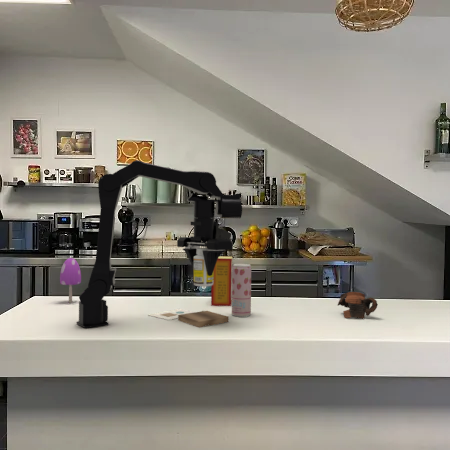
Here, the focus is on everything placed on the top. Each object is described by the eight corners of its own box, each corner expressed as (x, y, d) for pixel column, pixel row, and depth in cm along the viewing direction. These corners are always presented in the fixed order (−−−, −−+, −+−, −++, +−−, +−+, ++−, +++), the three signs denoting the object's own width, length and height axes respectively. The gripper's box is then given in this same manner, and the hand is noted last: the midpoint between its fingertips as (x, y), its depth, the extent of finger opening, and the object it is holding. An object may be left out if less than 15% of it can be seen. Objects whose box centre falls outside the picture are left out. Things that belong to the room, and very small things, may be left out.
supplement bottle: (212, 283, 121) (213, 248, 121) (214, 286, 116) (214, 249, 116) (193, 284, 121) (193, 247, 121) (193, 286, 115) (193, 249, 115)
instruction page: (168, 320, 119) (168, 319, 119) (148, 315, 125) (148, 314, 125) (198, 313, 128) (198, 312, 128) (178, 309, 134) (178, 308, 134)
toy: (76, 304, 140) (77, 258, 140) (56, 304, 140) (56, 258, 140) (83, 301, 146) (84, 257, 146) (64, 300, 146) (64, 257, 146)
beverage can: (229, 315, 125) (229, 264, 125) (235, 312, 131) (235, 263, 131) (247, 317, 123) (248, 265, 123) (253, 313, 129) (253, 264, 129)
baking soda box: (213, 300, 150) (213, 255, 150) (231, 300, 150) (232, 255, 150) (211, 305, 141) (211, 257, 141) (230, 306, 141) (231, 257, 141)
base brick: (199, 327, 111) (199, 321, 111) (178, 320, 119) (178, 314, 119) (228, 322, 118) (228, 316, 118) (206, 315, 125) (207, 310, 125)
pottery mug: (333, 319, 125) (332, 292, 130) (346, 328, 132) (344, 302, 136) (374, 313, 119) (371, 286, 123) (385, 323, 125) (382, 297, 129)
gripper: (248, 218, 116) (247, 275, 116) (207, 218, 130) (206, 269, 131) (216, 217, 109) (215, 278, 109) (176, 218, 123) (175, 272, 124)
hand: (203, 274), depth 118 cm, fingers closed on supplement bottle, 5 cm apart
